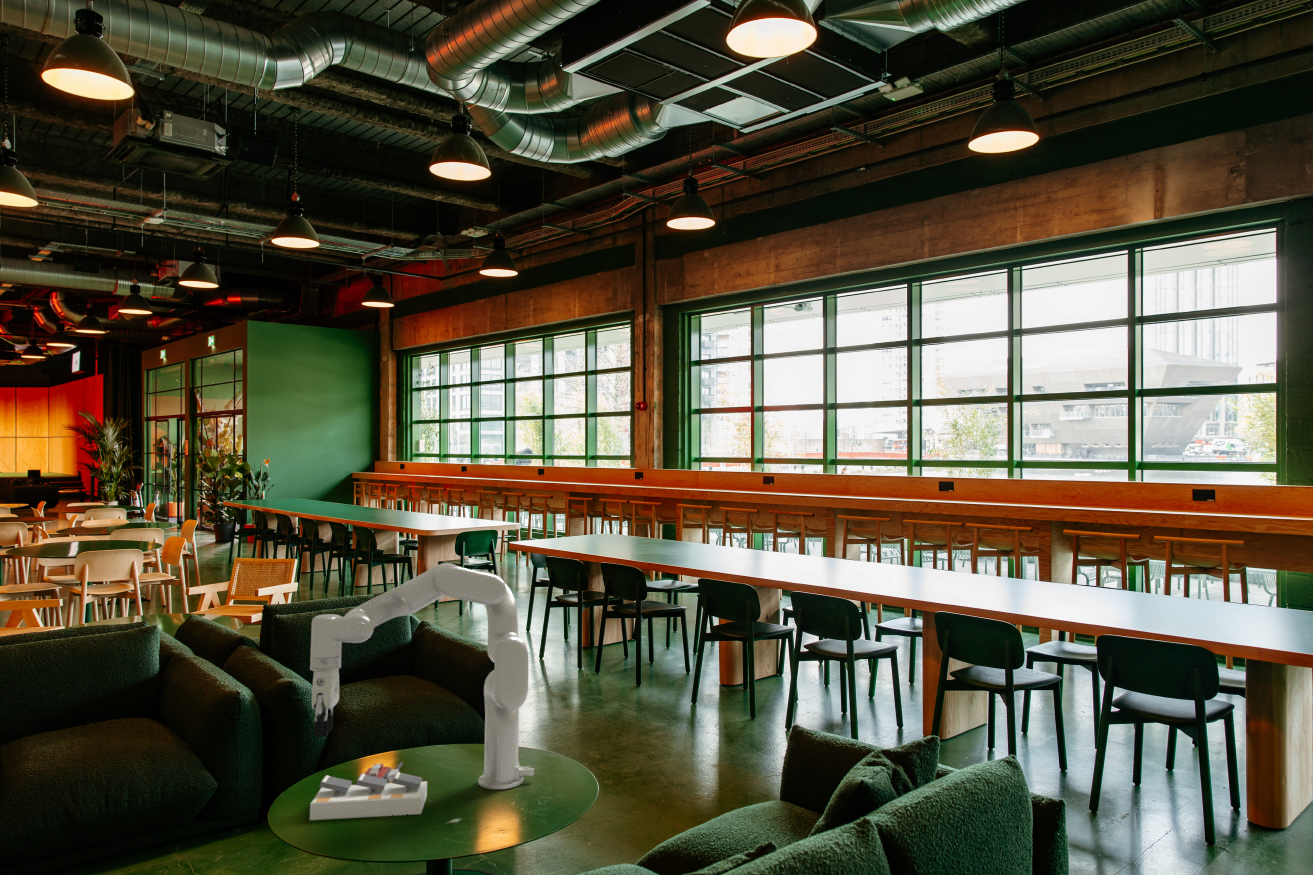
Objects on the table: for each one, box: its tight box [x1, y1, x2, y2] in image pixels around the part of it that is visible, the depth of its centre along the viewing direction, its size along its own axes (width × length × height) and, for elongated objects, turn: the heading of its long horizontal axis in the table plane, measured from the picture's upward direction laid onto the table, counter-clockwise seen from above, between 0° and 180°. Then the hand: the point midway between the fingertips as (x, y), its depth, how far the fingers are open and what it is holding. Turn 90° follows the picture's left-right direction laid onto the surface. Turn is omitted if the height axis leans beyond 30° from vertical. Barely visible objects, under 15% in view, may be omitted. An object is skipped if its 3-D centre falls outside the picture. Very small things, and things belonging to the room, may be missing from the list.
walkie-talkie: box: [364, 761, 404, 783], centre depth 231 cm, size 9×4×20 cm
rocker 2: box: [355, 773, 387, 791], centre depth 211 cm, size 7×5×1 cm
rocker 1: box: [318, 774, 353, 793], centre depth 209 cm, size 7×5×1 cm
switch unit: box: [309, 780, 428, 821], centre depth 210 cm, size 27×12×5 cm, turn 99°
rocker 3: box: [391, 771, 423, 789], centre depth 212 cm, size 7×5×1 cm
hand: (323, 732), depth 210 cm, fingers open, 4 cm apart
